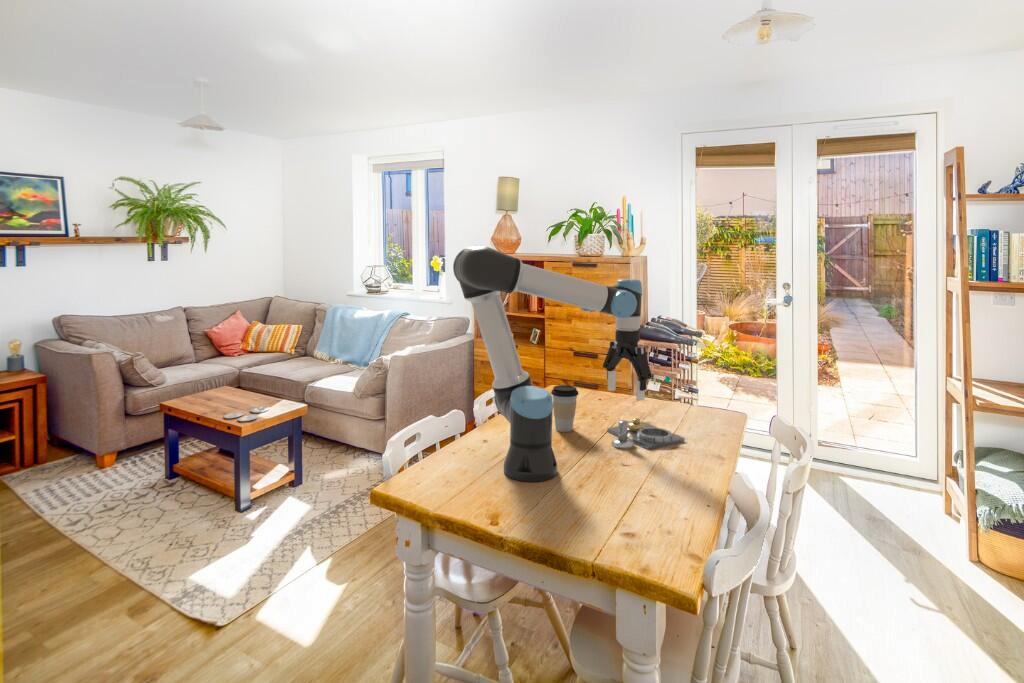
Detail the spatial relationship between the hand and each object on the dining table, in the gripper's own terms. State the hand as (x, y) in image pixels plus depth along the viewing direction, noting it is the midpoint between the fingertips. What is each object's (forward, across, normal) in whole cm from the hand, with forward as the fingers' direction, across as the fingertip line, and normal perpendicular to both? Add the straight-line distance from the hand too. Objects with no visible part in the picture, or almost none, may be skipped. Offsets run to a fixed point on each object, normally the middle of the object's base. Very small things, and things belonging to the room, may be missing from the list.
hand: (625, 395), depth 180 cm
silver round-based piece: (+17, 0, 0) cm, 17 cm away
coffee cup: (+17, +22, +8) cm, 29 cm away
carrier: (+17, +3, -12) cm, 21 cm away
